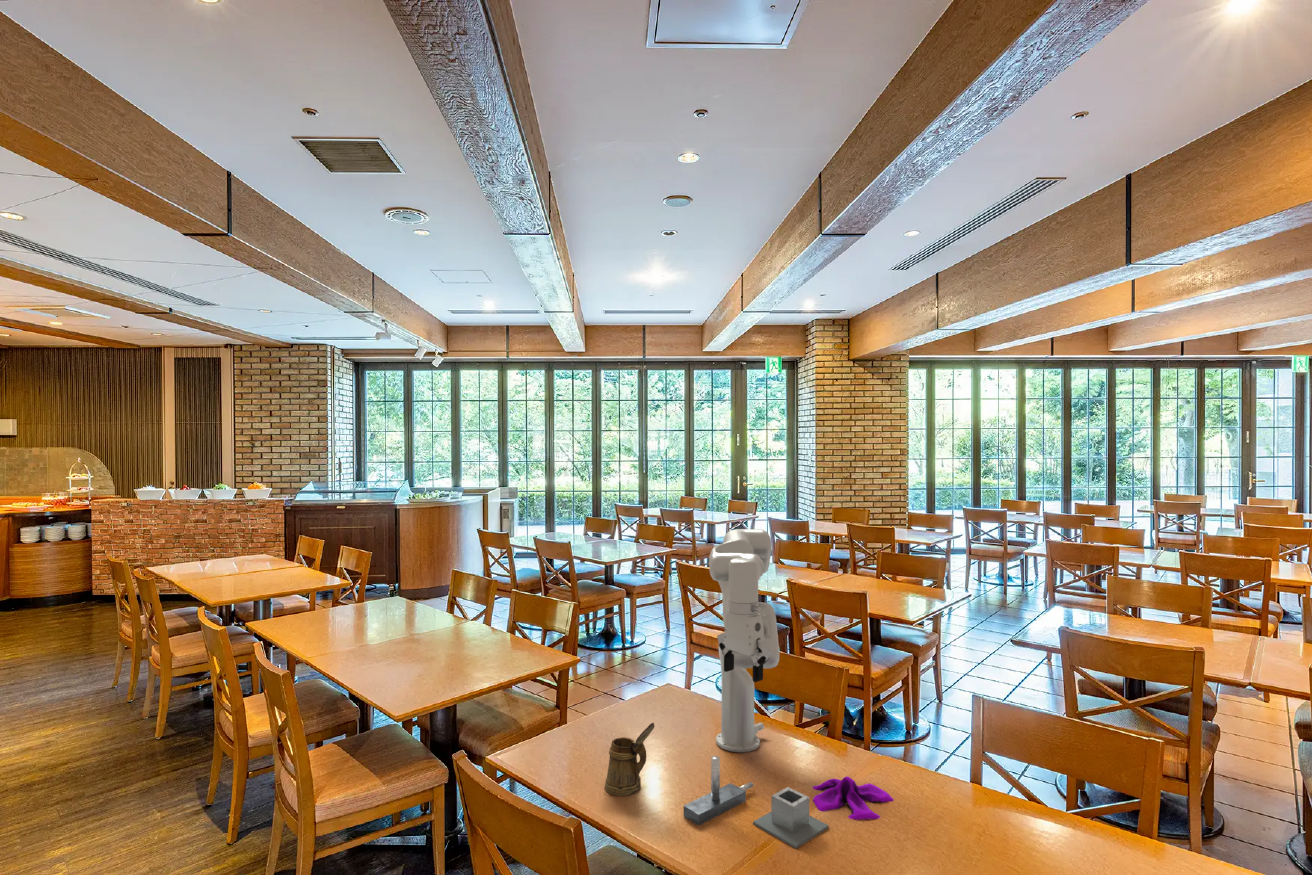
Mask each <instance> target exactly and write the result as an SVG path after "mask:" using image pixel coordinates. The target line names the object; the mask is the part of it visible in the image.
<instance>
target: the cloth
mask: <svg viewBox="0 0 1312 875" xmlns="http://www.w3.org/2000/svg"><path fill="white" fill-rule="evenodd" d="M812 789H813V790H815V791H820V793H818V794H816V795H815V796H814V797H813V798H812V802H813V804H814V805H815V807H816V808H817V810H818V811H820V812H827V811H832V810H838V809H841V808H842V807H844V806H845V807H846V806H847V805H848V807H849V808H850V810H851V814H850V815H847V816H848V818H849V819H850V820H856V821H860V820H878V819H880V818H881V815H880V814H877V813H875V812H874V811H872V810H871V809H870V807H869V806H868V805H867V804H866V802H870V803H872V804H873V803H877V802H880V803H887V802H894V800H895V799H894V798H893V797H892V796H891V795H890V794H889V793H888V792H886V791H885V790H884V789H882V788H880V787H878V786H876V785H875V784H872V783H870V782H869V783H865V784H863V785H862V784H861V785H858V784H857V783H856V781H855V780H854V779H852V778H851V777H850V776H847V775H846V776H844V777H843V778H842V779H839V778H830V779H827V780H825V781H824V782H822V783H820V784H818V785H813V786H812ZM821 791H822V792H821Z"/></svg>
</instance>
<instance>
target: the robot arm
mask: <svg viewBox="0 0 1312 875" xmlns="http://www.w3.org/2000/svg"><path fill="white" fill-rule="evenodd" d="M771 539H772V538H771V536H770V534H769V533H768V532H767V531H766V530H764V529H756V528H755V529H753V528H751V529H749V528H747V529H745V528H740V529H739V528H736V529H731V530H729V531H728V532H726V534H724V536H723V540H722V543H720V544H718V545H715V546H714V547H713V548H712V549H711V550H710V553H709V558H708V559H709V560H708V563H709V564H708V567H709V574H710V577H711V578H712V580H713V581H716V582H718V585H719V587H720V588H719V589H720V590H721V594H722V600H721V601H722V622H723V623H722V624H723V627H724V631H723V632H722V633H720V634H717V636H716V639H717V642H718V655H719V662H720V671H721V675H720V676H721V730H720V731H721V732H720V733H718V734H717V735H716V737H715V743H716V745H717V746H718V747H719V748H721V749H723V750H725V751H727V752H731V753H732V752H734V753H748V752H753V751H754V750H755V751H756V749H758V748H759V746H760V742H761V741H760V739H759V738H760V737H758V736H757V733H758V732H759V731H761V730H764V728H765V725H764V723H763V722H759V723H756V724H755V683H757V682H761V681H763V679H764V669H773V668H776V667H777V666H778V665H779V662H780V644H779V634H778V625H777V616H776V612H775V611H776V610H775V608H774V607H773V606H772V605H771V604H770V603H768V602H764V601H763V602H761V601H760V602H759V580H760V579H761V577H762V576H763V575H764V574H766V573H767V572H768V570H769V568H770V563H771V556H772V540H771ZM747 669H752V676H751V674H750V672H748V670H747Z"/></svg>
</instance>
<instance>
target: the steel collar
mask: <svg viewBox="0 0 1312 875" xmlns="http://www.w3.org/2000/svg"><path fill="white" fill-rule="evenodd" d="M770 806H771V811H770V812H771V822H772V823H773V824H775V825H777V826H779V827H781V828H783V829H784V830H786V831H788V832H790V833H792V834H794V833H796V832H797V831H799V830H801V829H802V828H804V827H805V826H807V825H809V815H810V797H809V796H807V795H806V794H804V793H801V792H799V791H797V790H795V789H793V788H791V787H789V786H787V787H785V788H783V789H781V790H779V791H778V792H776V793H774V794H772V795H771V805H770Z"/></svg>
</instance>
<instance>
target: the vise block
mask: <svg viewBox="0 0 1312 875" xmlns="http://www.w3.org/2000/svg"><path fill="white" fill-rule="evenodd" d="M720 761H721V758H720V756H718V755H712V756H711V761H710V762H711V763H710V764H711V766H710V767H711V768H710V772H711V774H710V776H711V778H710V779H711V781H710V782H711V783H710V792H709V793H707V794H705V795H702V796H700V797H699V798H696V799H695V800H692V801H690V802H688V803H686V804H684V805H683V818H686V819H687V820H688V821H690V822H691V823H693V824H695V825H696V826H698V827H699V826H701V825H704V824H705V823H708V822H709V821H711V820H713V819H714V818H717V817H719V816H720V815H723V814H725V813H726V812H729V811H730V810H732V809H734V808H736V807H737V806H740V805H741V804H742V805H743V803H745V802H747V801H746V800H747V799H746V796H747V795H746V794H747V793H746V792H747V791H748V790H749V789H751V788H753V787H754V783H753V782H752V781H749V782H748V783H745V784H743V785H742V786H738V785H735V784H733V783H732V782H730V783H728V784H725V785H723V786H722V787H720V784H721V783H720V781H721V779H720V777H721V776H720V775H721V774H720V770H721V769H720V768H721V762H720Z"/></svg>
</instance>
